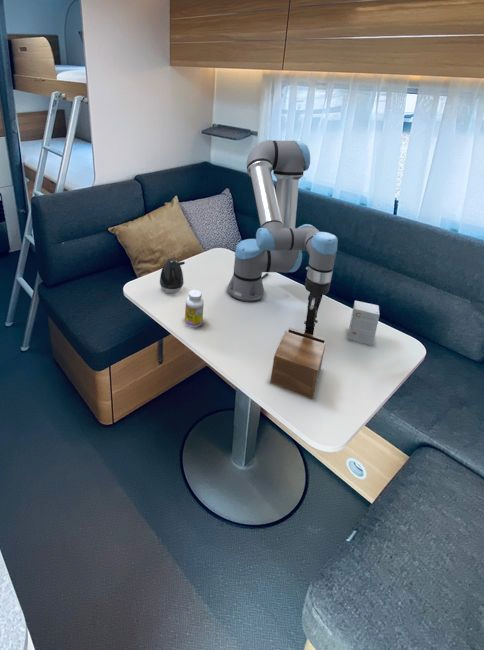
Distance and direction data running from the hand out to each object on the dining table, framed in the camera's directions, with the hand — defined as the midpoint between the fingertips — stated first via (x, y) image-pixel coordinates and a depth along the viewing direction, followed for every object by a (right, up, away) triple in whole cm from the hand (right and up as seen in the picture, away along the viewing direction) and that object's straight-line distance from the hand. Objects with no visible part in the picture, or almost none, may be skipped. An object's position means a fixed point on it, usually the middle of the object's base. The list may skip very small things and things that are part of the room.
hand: (307, 339), depth 141 cm
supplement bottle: (-39, +2, +13) cm, 41 cm away
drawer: (-5, -5, -7) cm, 10 cm away
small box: (+21, -2, +7) cm, 23 cm away
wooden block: (-8, -8, -12) cm, 17 cm away
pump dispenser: (-47, +10, +34) cm, 59 cm away
